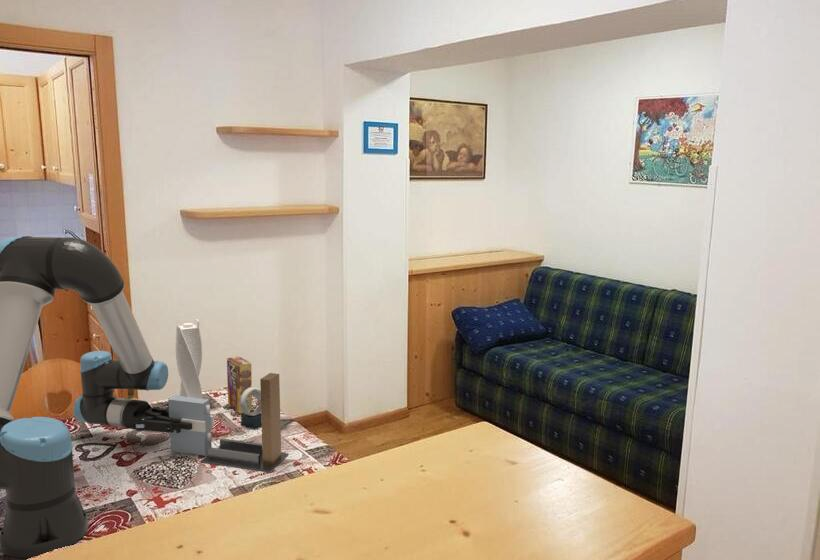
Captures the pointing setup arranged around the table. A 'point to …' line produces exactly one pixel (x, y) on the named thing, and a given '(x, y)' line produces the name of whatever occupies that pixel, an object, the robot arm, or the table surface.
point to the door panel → (186, 438)
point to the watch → (252, 417)
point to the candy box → (238, 382)
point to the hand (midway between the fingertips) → (208, 424)
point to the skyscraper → (189, 359)
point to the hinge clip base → (270, 449)
